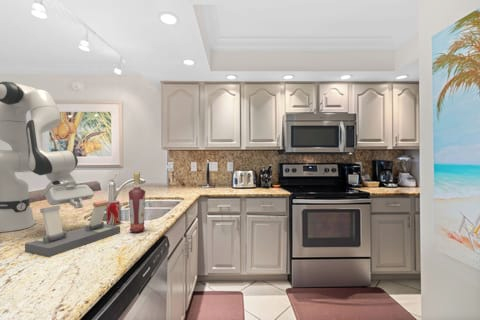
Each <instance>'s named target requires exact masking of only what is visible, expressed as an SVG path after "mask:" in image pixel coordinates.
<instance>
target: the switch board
mask: <svg viewBox="0 0 480 320" xmlns="http://www.w3.org/2000/svg"><path fill="white" fill-rule="evenodd" d="M62 231H63V233H64V237H63V238H60V239H56V240H53V241H49V237H47V236H45V235H44V236H42V238H38V239H36V240H33V241H32V240H31V241H29V242H25V243H24V252H26V253H30V254H35V255H40V256H44V257H48V258H50V257H53V256H56V255H58V253H59V254H62V253H64V252H67V251H70V249H71V250H73V249H76V248H79V247H82V246H85V245H88V244H90V243H94V242H97V241H99V240H102V239H105V238H109V237H111V236H115V235H117V234H120V233H121V226H120V225H108V224H107V223H106V224H105V221H102V226H101V227H98V228H95V229H91V230H90V225H89V224H87V225H85V226H84V227H81V228H78V229H73V230H70V231H65V230H62Z"/></svg>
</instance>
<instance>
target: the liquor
mask: <svg viewBox="0 0 480 320" xmlns="http://www.w3.org/2000/svg"><path fill="white" fill-rule="evenodd" d="M140 177H141V172H138V171H137V172H133V179H134V181H133V188H132V189H131V190H130V191H128V205H129V207H128V208H129V219H130V220H129V221H130V224H129V225H130V226H129V231H130V232H132V233H134V234H137V233H142V232H143V231H144V230H145V229H146V227H145V207H146V206H145V205H146V191H145V190H144V189H142V188H141V183H140Z"/></svg>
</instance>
